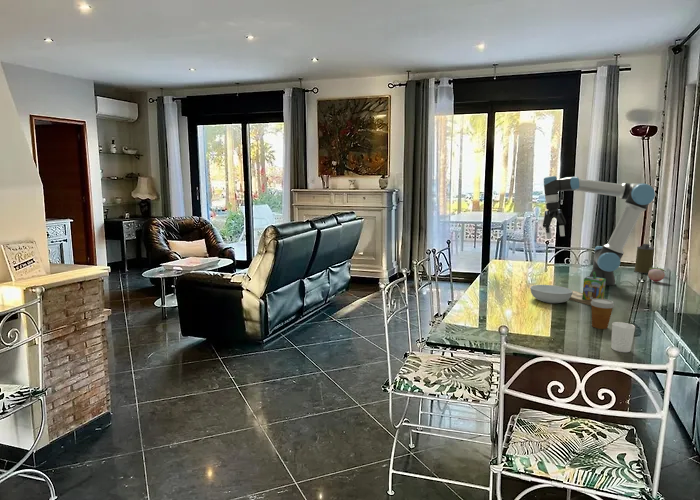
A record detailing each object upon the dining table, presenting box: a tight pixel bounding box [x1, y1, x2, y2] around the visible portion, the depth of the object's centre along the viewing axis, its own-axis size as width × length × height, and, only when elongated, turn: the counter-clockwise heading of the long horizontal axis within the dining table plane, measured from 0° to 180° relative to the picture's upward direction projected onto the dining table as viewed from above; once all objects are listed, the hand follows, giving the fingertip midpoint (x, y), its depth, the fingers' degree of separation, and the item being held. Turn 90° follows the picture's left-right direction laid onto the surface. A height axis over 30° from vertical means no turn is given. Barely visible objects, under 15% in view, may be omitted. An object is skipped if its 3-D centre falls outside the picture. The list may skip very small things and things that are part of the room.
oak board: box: [569, 290, 608, 306], centre depth 276 cm, size 14×24×2 cm, turn 29°
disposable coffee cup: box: [590, 298, 615, 330], centre depth 226 cm, size 10×10×12 cm
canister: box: [633, 243, 655, 274], centre depth 352 cm, size 11×10×20 cm
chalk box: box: [582, 271, 606, 301], centre depth 267 cm, size 9×9×15 cm
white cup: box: [610, 321, 636, 353], centre depth 198 cm, size 8×8×10 cm
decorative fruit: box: [647, 266, 666, 283], centre depth 322 cm, size 9×8×10 cm
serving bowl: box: [529, 284, 574, 304], centre depth 268 cm, size 21×21×7 cm
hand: (555, 237), depth 306 cm, fingers open, 13 cm apart
